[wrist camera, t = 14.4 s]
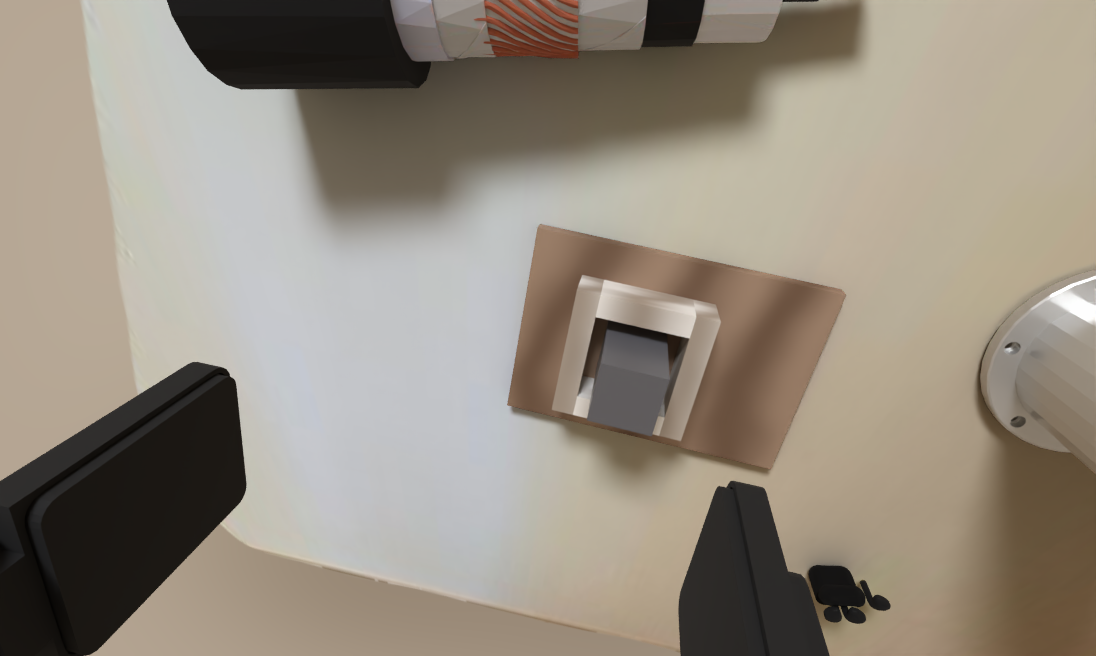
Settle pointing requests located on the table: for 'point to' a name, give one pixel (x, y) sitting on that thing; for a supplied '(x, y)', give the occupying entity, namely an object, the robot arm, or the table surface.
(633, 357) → the charger brick
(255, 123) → the table surface
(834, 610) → the wireless earbuds
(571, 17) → the stepped striped telescope
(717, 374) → the board
